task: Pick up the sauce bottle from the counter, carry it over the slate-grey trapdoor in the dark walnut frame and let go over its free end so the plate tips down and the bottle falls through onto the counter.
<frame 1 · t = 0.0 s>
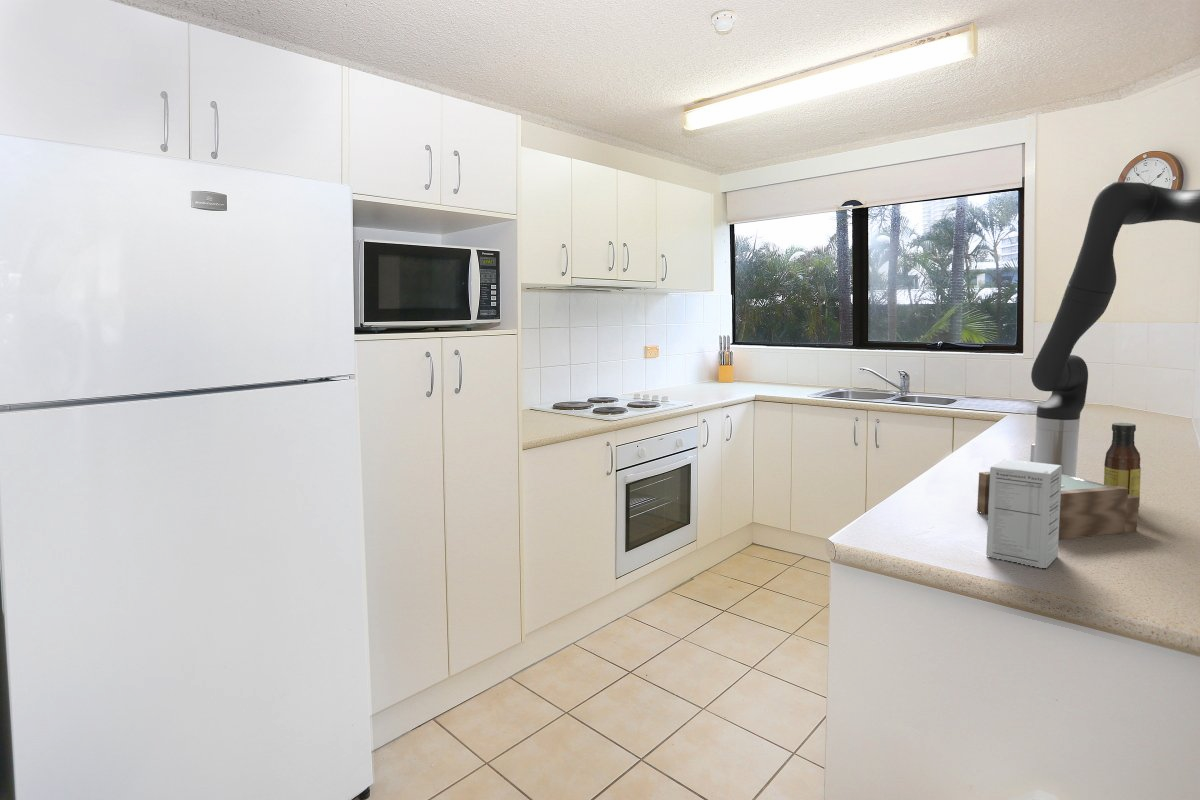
sauce bottle: (1119, 514, 144), on the countertop
trapdoor: (1050, 484, 138), point 8 cm above the countertop, hinge at 0.0°
supplement box: (1021, 557, 119), on the countertop
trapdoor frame: (1046, 521, 139), on the countertop
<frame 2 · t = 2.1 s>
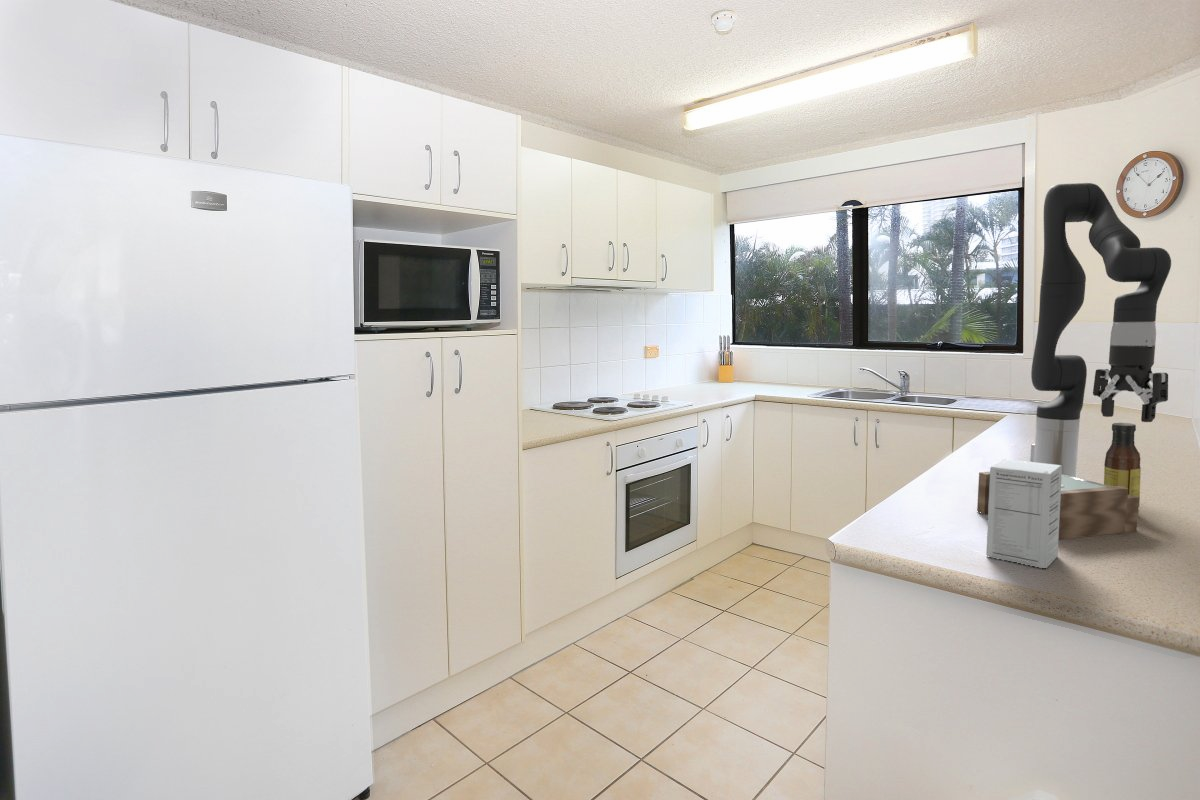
hand: (1126, 419, 141), 21 cm above the countertop, tool pointing down, fingers open, 8 cm apart
nothing on the countertop moved.
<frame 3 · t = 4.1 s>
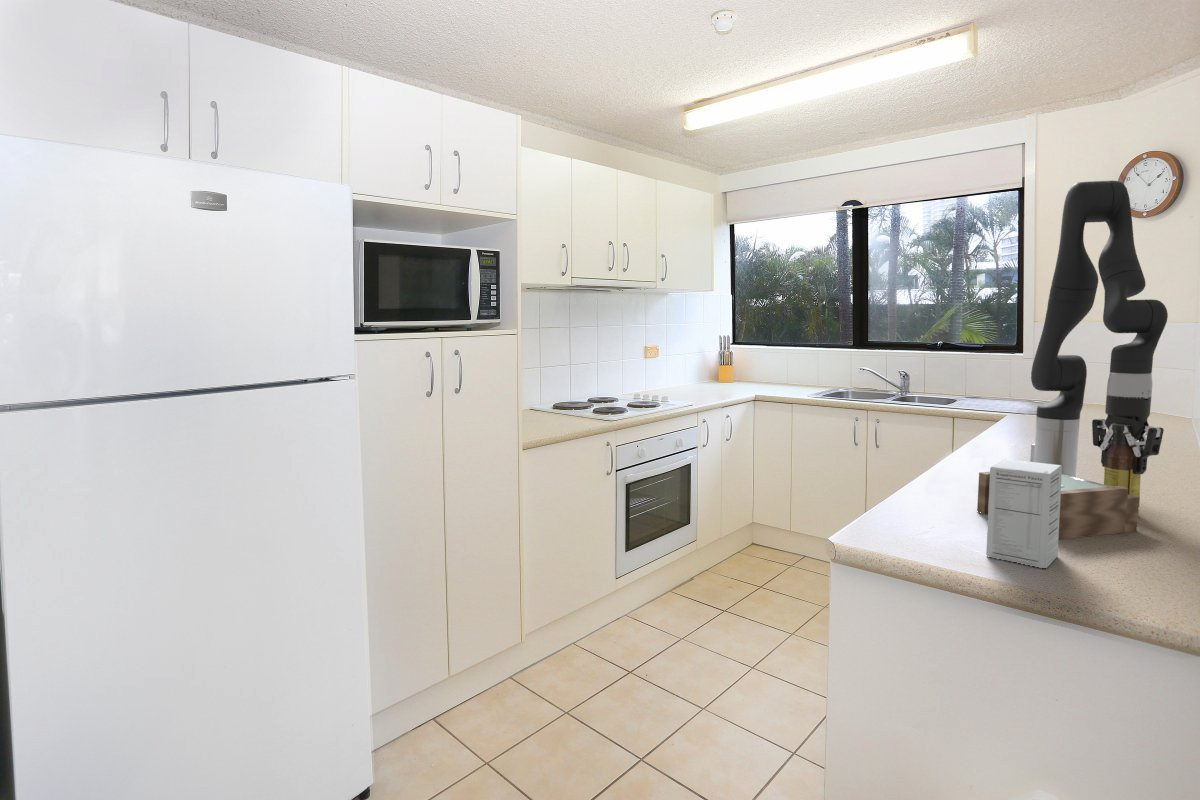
hand: (1122, 470, 143), 10 cm above the countertop, tool pointing down, fingers closed on sauce bottle, 6 cm apart
sauce bottle: (1119, 514, 144), on the countertop, touching gripper
everything else where it was.
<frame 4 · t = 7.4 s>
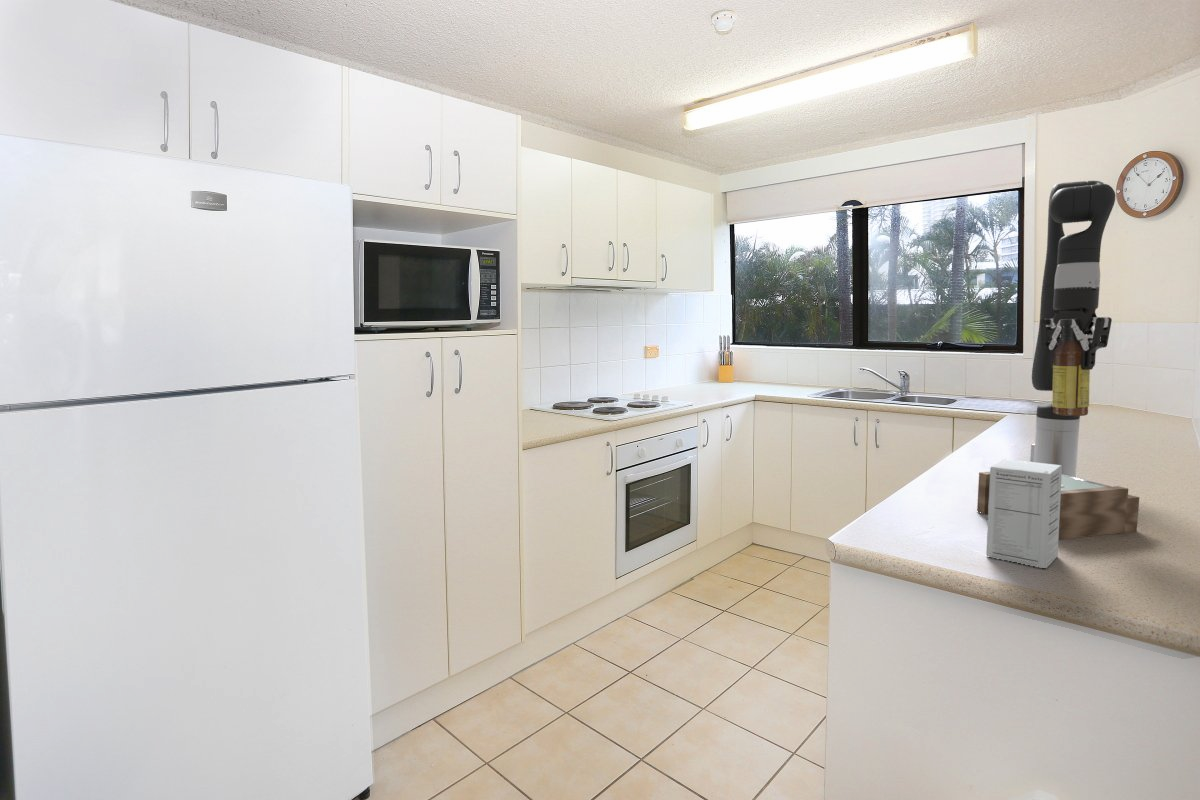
hand: (1071, 368, 136), 32 cm above the countertop, tool pointing down, fingers closed on sauce bottle, 6 cm apart
sauce bottle: (1068, 415, 137), point 22 cm above the countertop, touching gripper
everything else where it was.
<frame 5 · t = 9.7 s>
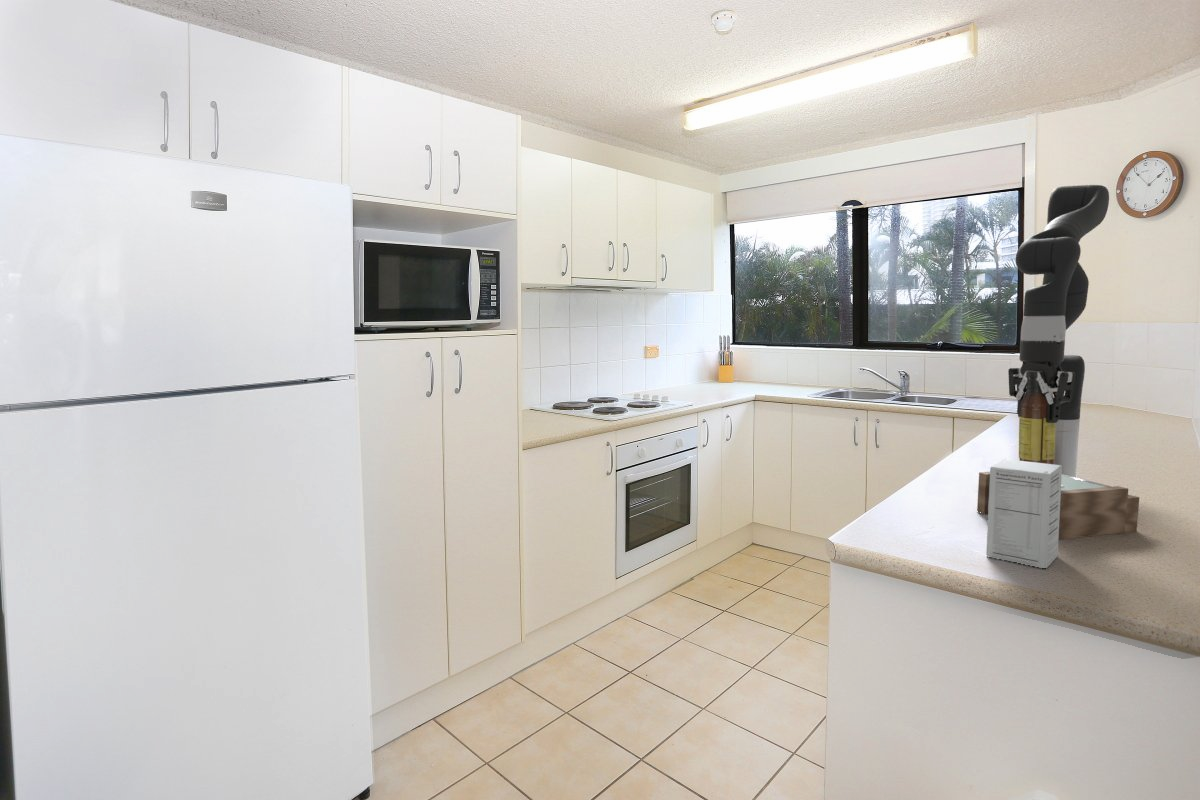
hand: (1037, 419, 135), 22 cm above the countertop, tool pointing down, fingers closed on sauce bottle, 6 cm apart
sauce bottle: (1034, 466, 137), point 12 cm above the countertop, touching gripper
everything else where it was.
when the fingers open (20 cm above the countertop, at t = 11.0 s): sauce bottle drops 6 cm, resting on trapdoor.
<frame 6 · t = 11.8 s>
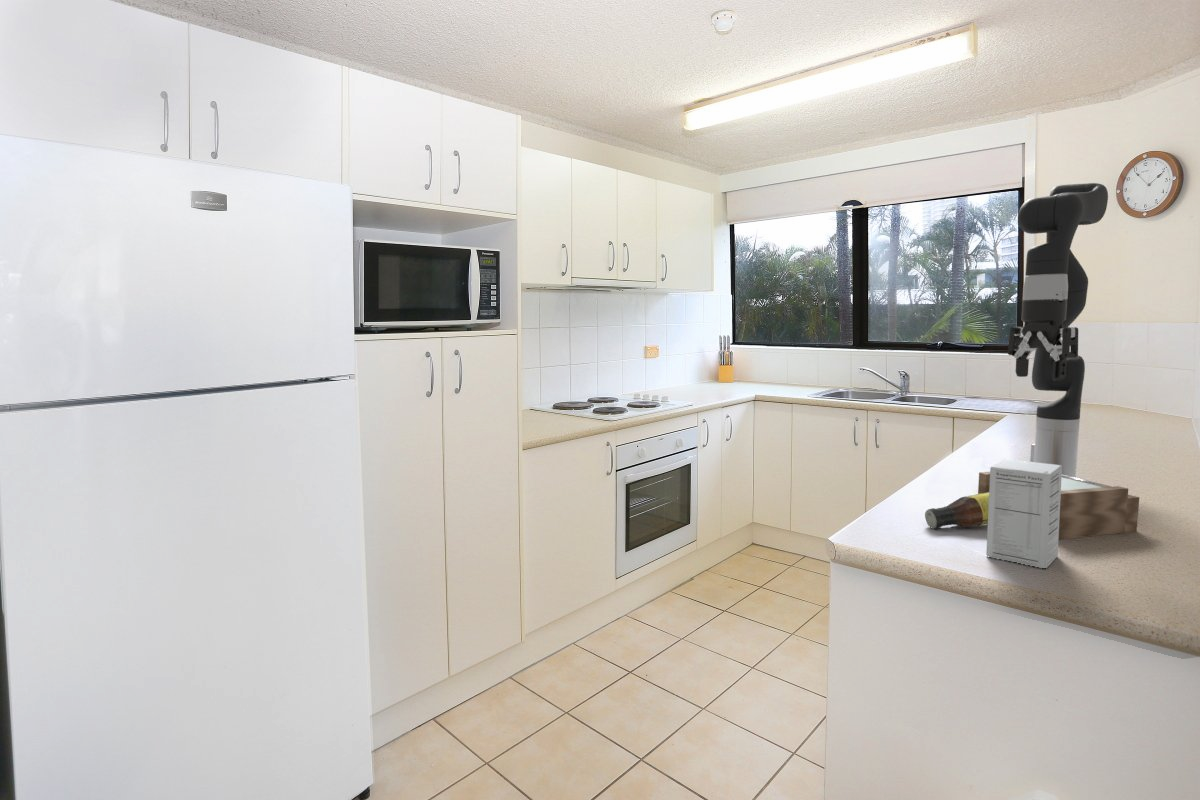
hand: (1039, 378, 134), 31 cm above the countertop, tool pointing down, fingers open, 8 cm apart
sauce bottle: (1020, 502, 137), point 5 cm above the countertop, touching trapdoor
trapdoor: (1052, 499, 138), point 5 cm above the countertop, hinge at -24.6°, touching sauce bottle
everything else where it was.
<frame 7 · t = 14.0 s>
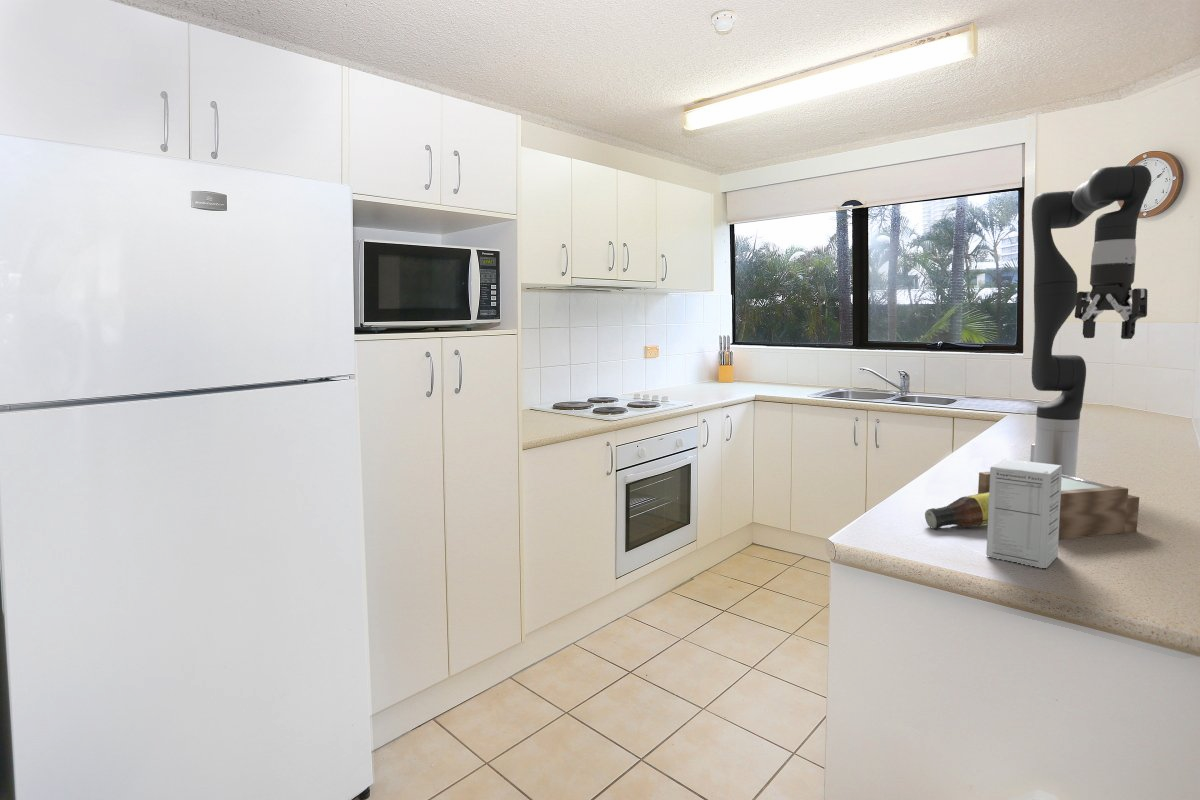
hand: (1107, 338, 143), 38 cm above the countertop, tool pointing down, fingers open, 8 cm apart
nothing on the countertop moved.
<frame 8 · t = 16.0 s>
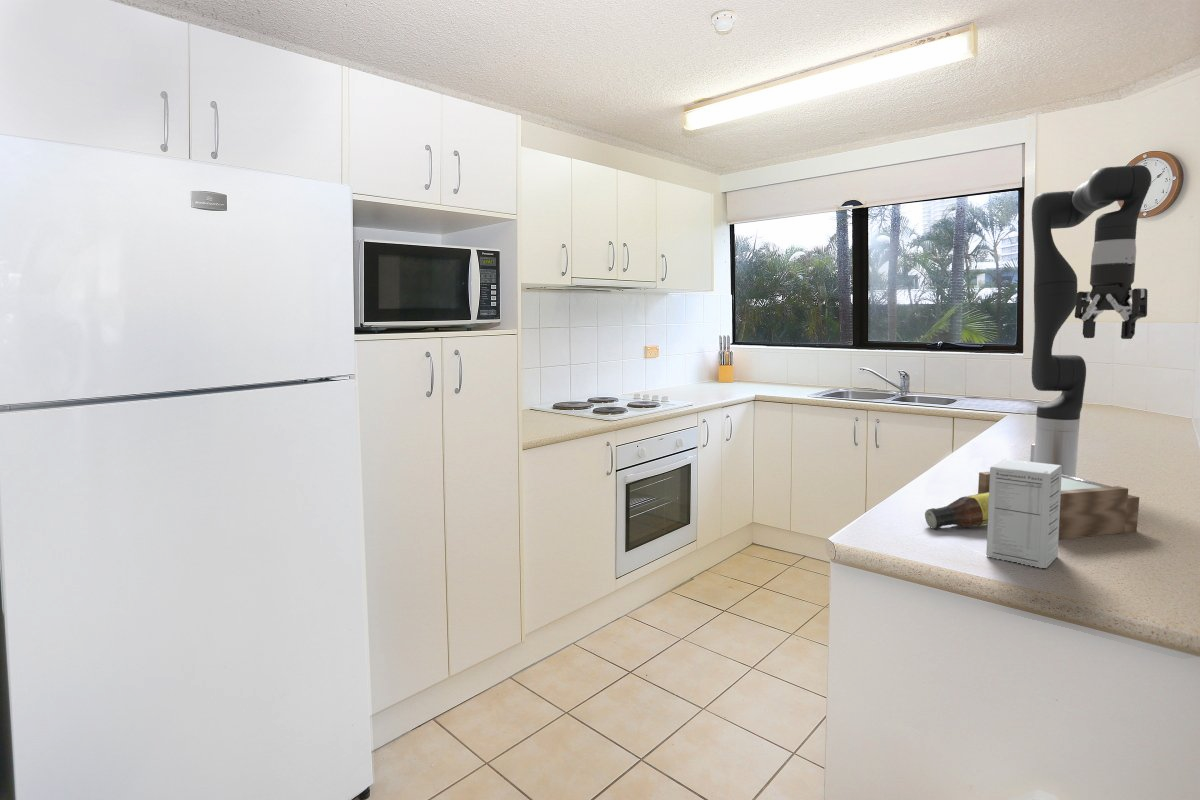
hand: (1107, 338, 143), 38 cm above the countertop, tool pointing down, fingers open, 8 cm apart
nothing on the countertop moved.
at the end: sauce bottle point 4.6 cm above the countertop; the gripper is holding nothing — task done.
